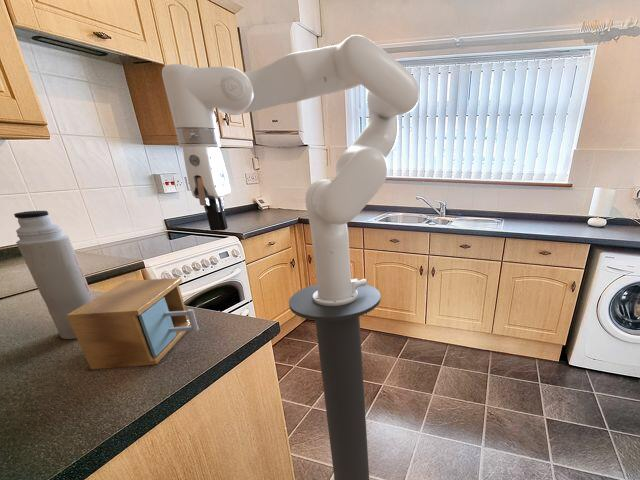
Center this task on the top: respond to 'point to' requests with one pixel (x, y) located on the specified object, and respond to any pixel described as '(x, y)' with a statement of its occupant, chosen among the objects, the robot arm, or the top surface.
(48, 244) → the thermos bottle
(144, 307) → the cabinet
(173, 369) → the top surface
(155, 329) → the blue door
